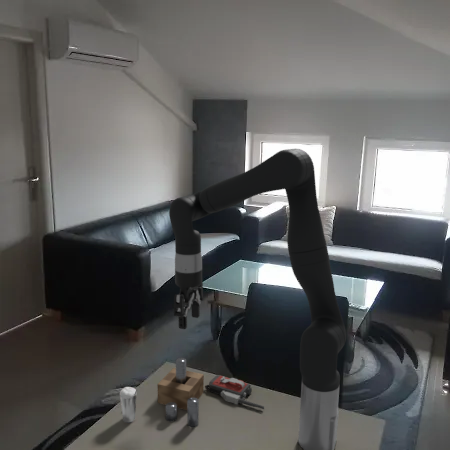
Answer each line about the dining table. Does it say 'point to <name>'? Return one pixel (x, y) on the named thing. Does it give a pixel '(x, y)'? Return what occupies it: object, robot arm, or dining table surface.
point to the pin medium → (192, 412)
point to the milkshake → (128, 403)
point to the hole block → (180, 388)
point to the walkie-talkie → (231, 390)
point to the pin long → (181, 370)
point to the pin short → (171, 411)
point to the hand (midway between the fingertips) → (189, 322)
